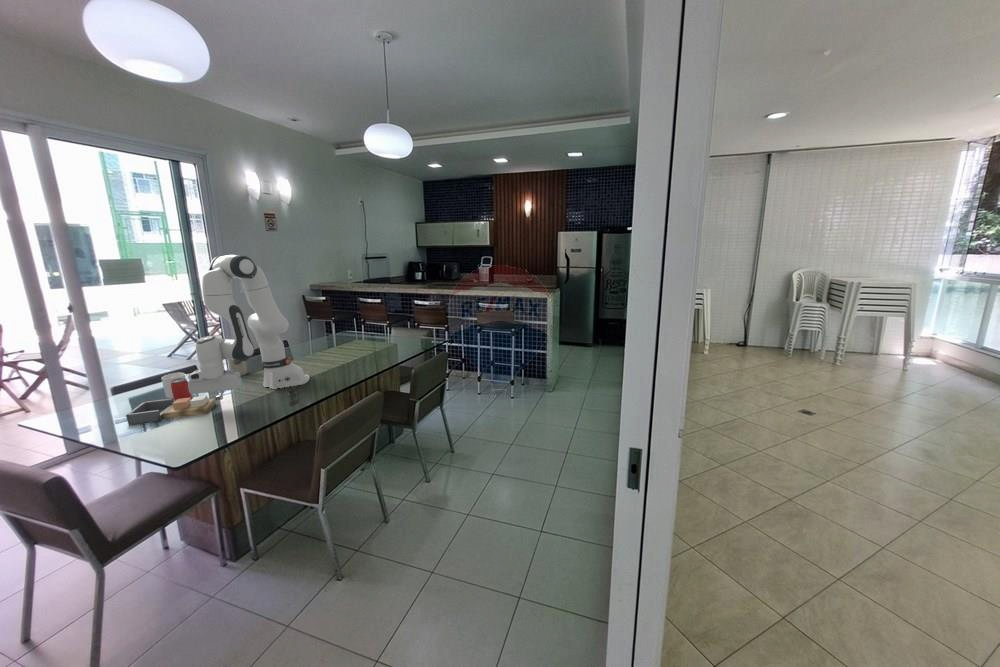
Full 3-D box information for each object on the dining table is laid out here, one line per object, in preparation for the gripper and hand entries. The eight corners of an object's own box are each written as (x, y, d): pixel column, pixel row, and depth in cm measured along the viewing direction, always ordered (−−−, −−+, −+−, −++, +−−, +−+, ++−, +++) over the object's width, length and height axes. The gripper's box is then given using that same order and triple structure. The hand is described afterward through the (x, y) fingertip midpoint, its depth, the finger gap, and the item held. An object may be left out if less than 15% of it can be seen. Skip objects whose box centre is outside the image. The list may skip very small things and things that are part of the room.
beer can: (196, 401, 187) (190, 378, 184) (181, 407, 181) (175, 383, 178) (187, 399, 189) (181, 377, 186) (172, 405, 183) (166, 382, 180)
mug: (172, 401, 188) (167, 379, 185) (162, 398, 191) (157, 377, 188) (199, 392, 198) (194, 371, 195) (189, 389, 202) (184, 369, 199)
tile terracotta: (191, 403, 177) (190, 397, 177) (187, 407, 173) (185, 401, 172) (178, 405, 176) (177, 399, 175) (173, 409, 171) (172, 403, 170)
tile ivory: (208, 401, 179) (207, 395, 179) (204, 405, 175) (202, 399, 174) (195, 402, 178) (194, 396, 177) (191, 407, 173) (189, 401, 172)
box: (175, 408, 180) (173, 398, 178) (160, 421, 167) (157, 410, 165) (146, 411, 176) (143, 401, 175) (128, 425, 163) (125, 415, 162)
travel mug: (232, 373, 225) (226, 343, 221) (248, 370, 229) (243, 342, 224) (230, 377, 218) (223, 347, 214) (246, 375, 222) (240, 345, 217)
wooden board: (215, 404, 183) (214, 398, 182) (206, 413, 173) (205, 407, 172) (175, 409, 178) (174, 403, 178) (164, 419, 168) (162, 413, 167)
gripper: (241, 366, 181) (246, 393, 184) (189, 372, 175) (196, 400, 178) (237, 371, 175) (242, 398, 179) (183, 376, 169) (190, 405, 172)
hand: (219, 399), depth 178 cm, fingers closed
